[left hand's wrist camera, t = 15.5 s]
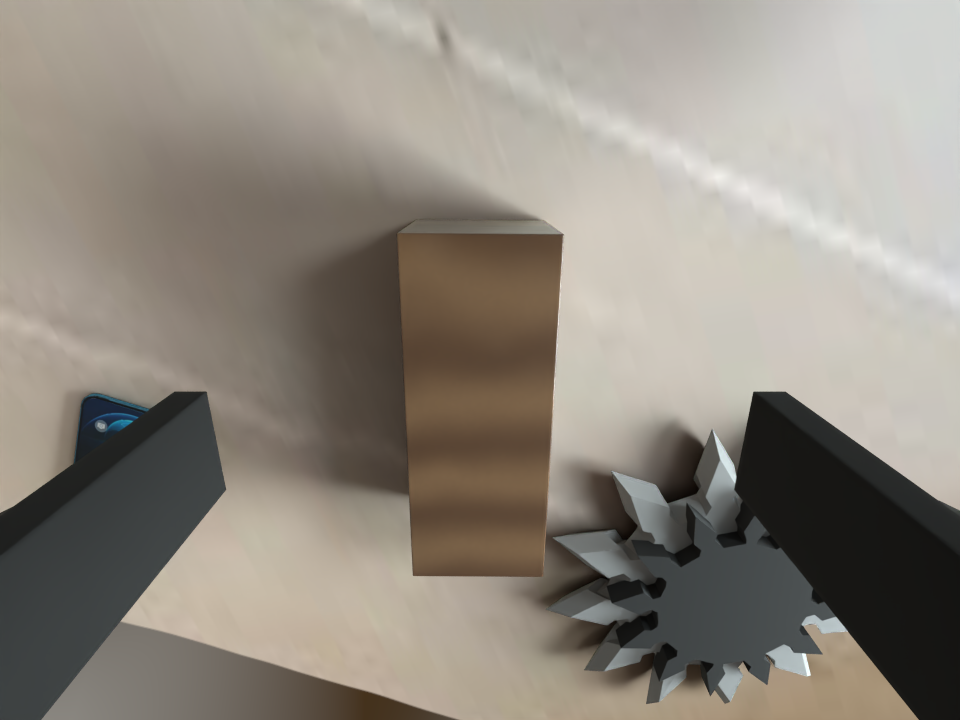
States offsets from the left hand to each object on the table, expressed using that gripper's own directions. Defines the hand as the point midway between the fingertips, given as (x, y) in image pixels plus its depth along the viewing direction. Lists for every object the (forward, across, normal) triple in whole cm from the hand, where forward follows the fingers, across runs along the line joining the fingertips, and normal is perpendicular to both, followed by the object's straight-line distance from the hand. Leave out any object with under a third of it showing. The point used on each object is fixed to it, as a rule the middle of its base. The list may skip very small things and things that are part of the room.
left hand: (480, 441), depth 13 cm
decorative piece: (+24, +20, -26) cm, 41 cm away
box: (+24, 0, -8) cm, 26 cm away
